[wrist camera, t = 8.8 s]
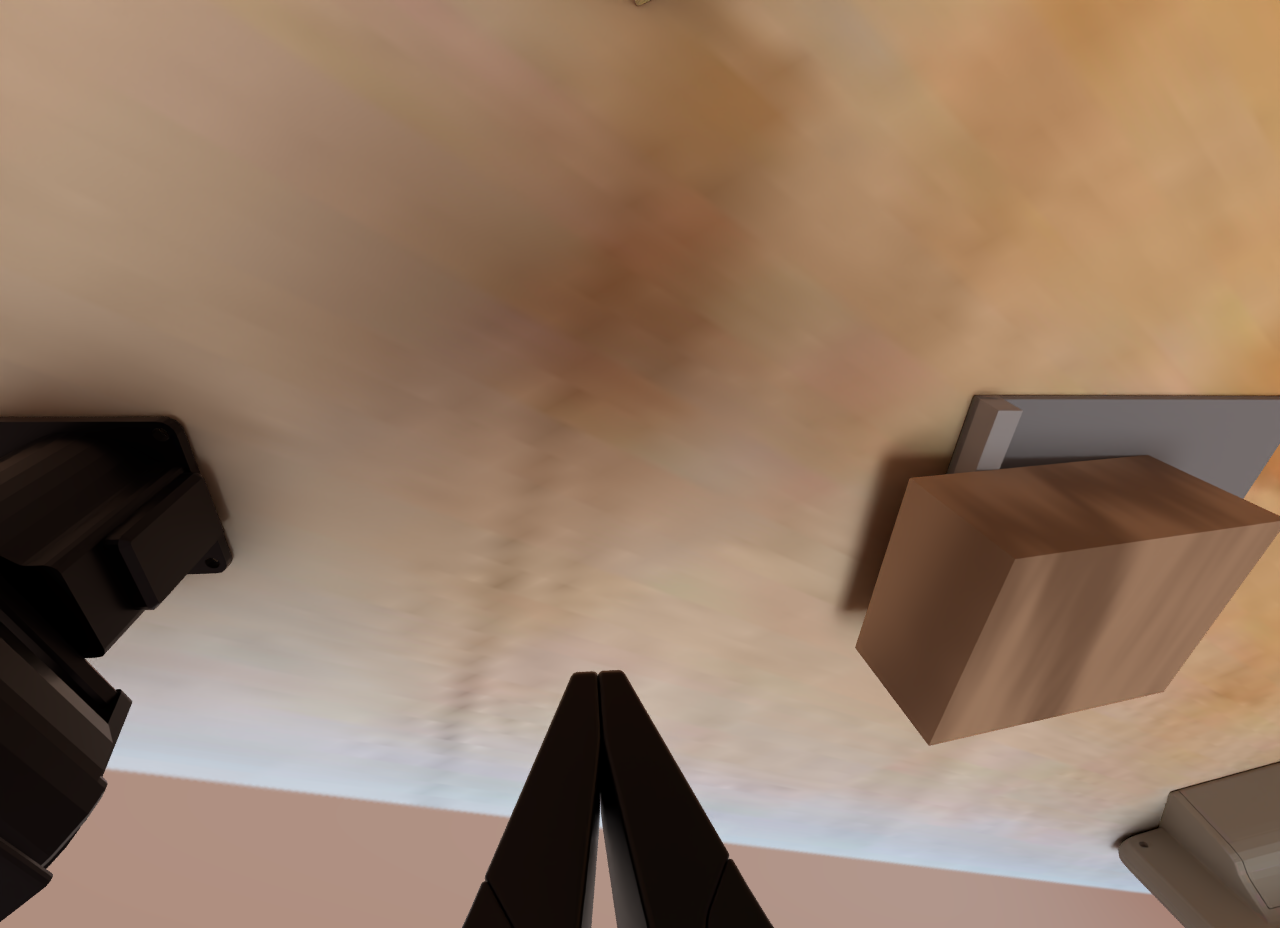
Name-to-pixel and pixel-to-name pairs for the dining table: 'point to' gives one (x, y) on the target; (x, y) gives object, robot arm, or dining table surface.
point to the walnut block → (1051, 589)
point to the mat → (1124, 433)
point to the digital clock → (1215, 852)
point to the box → (641, 2)
